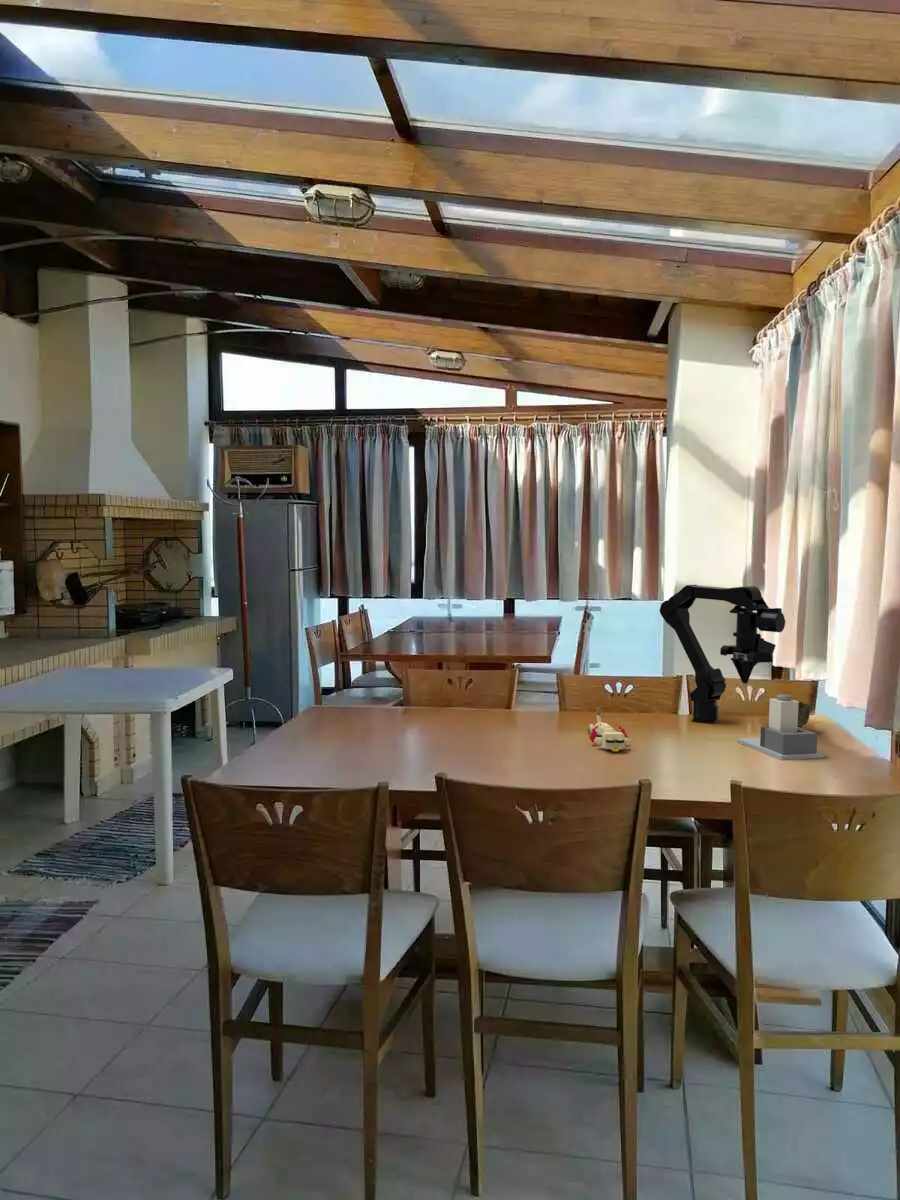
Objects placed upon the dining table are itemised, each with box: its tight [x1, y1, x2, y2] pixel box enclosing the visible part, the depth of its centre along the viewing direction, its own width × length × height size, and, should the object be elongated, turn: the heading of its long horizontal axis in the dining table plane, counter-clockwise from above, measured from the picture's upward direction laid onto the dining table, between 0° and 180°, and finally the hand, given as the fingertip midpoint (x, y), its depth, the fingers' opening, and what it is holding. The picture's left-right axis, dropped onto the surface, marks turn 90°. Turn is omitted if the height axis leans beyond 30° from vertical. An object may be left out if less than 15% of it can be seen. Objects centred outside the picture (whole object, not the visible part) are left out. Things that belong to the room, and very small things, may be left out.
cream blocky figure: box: [586, 707, 632, 752], centre depth 240 cm, size 10×9×25 cm
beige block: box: [768, 693, 799, 733], centre depth 233 cm, size 5×5×13 cm
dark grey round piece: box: [798, 701, 812, 729], centre depth 259 cm, size 8×7×8 cm
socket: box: [736, 726, 824, 761], centre depth 235 cm, size 20×12×6 cm, turn 13°
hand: (744, 683), depth 262 cm, fingers closed
